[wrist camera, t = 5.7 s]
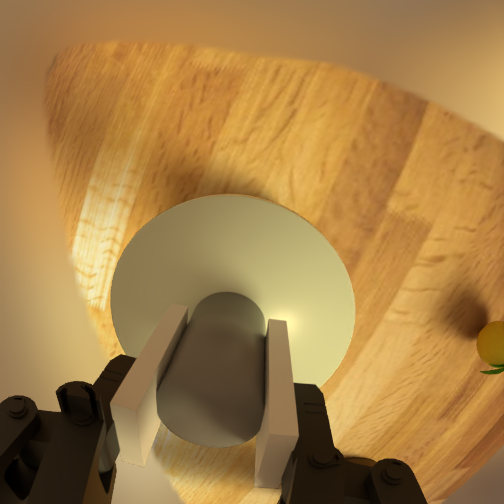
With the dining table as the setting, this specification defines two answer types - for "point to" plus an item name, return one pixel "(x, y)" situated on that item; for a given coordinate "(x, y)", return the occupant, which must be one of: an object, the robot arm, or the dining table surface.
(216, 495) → the dining table surface
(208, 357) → the lid
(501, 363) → the lemon
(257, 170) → the dining table surface
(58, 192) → the dining table surface
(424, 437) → the dining table surface
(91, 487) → the robot arm
